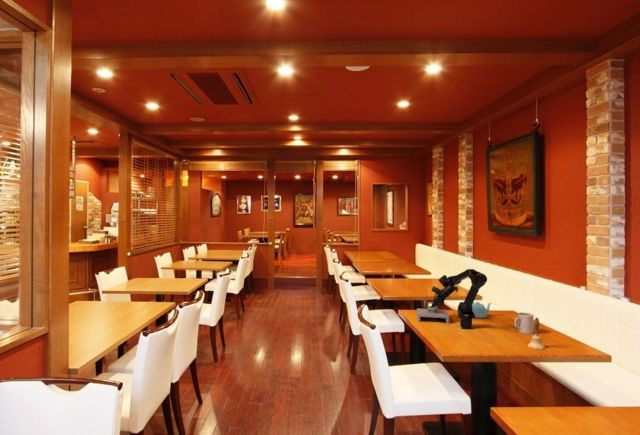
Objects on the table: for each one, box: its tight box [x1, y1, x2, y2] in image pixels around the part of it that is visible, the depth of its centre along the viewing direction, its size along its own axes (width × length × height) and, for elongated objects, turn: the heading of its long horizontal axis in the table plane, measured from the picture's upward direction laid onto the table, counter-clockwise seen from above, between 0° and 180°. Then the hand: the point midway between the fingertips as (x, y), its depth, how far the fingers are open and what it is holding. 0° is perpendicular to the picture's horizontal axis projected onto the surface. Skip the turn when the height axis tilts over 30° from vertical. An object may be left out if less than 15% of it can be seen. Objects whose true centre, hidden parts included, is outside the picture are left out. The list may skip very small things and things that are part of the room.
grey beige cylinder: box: [426, 301, 438, 313], centre depth 261 cm, size 6×6×9 cm
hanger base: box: [416, 308, 450, 324], centre depth 261 cm, size 20×16×5 cm
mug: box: [514, 312, 535, 335], centre depth 234 cm, size 12×8×11 cm
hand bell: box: [527, 317, 546, 350], centre depth 208 cm, size 8×8×16 cm
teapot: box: [472, 301, 492, 319], centre depth 270 cm, size 15×15×10 cm
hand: (430, 306), depth 261 cm, fingers closed on grey beige cylinder, 6 cm apart
